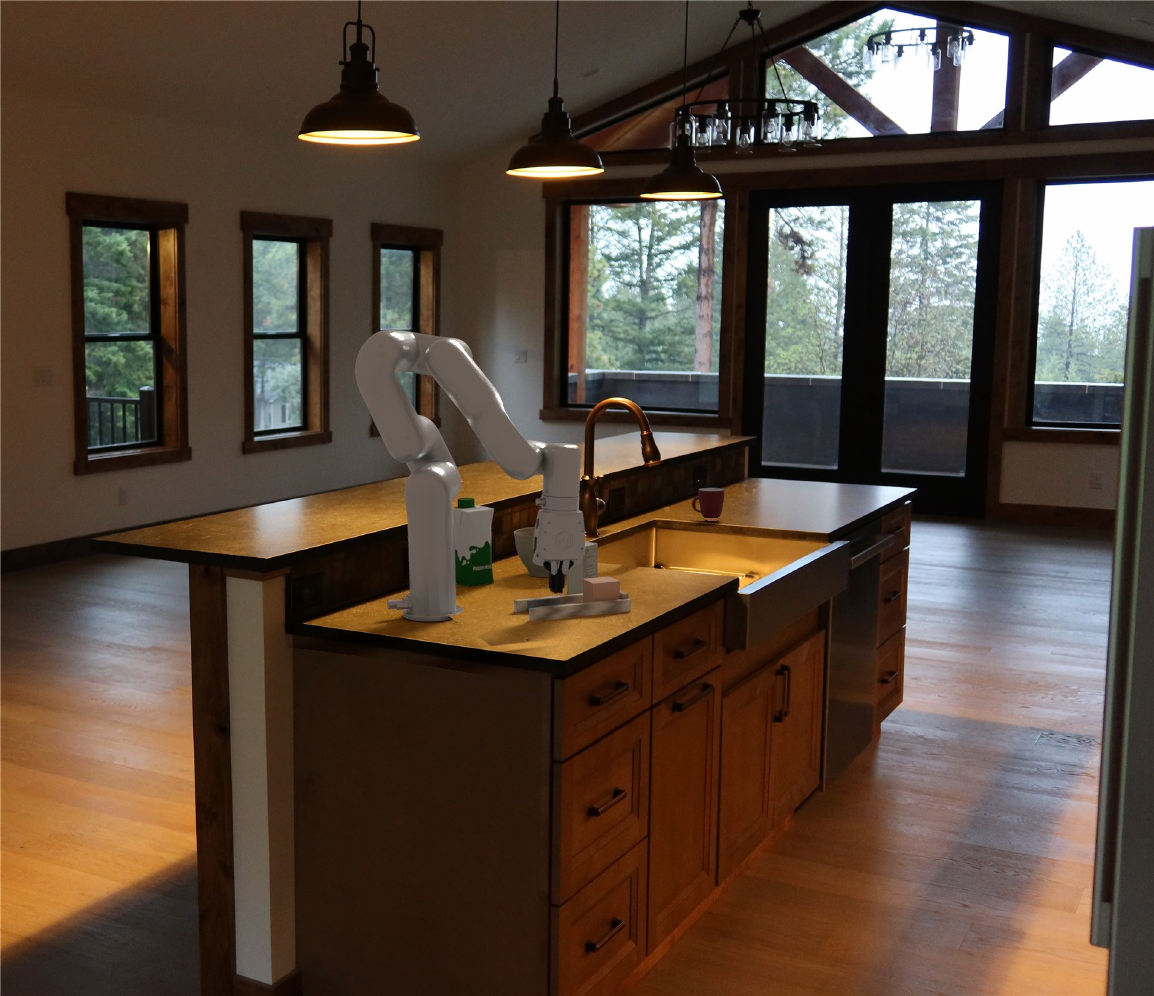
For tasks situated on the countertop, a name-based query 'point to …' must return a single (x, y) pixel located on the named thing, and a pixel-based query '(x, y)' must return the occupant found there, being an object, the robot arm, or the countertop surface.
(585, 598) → the block
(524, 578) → the countertop surface
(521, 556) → the planter bowl
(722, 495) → the mug
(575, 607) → the chute
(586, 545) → the skincare box
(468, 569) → the milk carton
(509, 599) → the countertop surface
